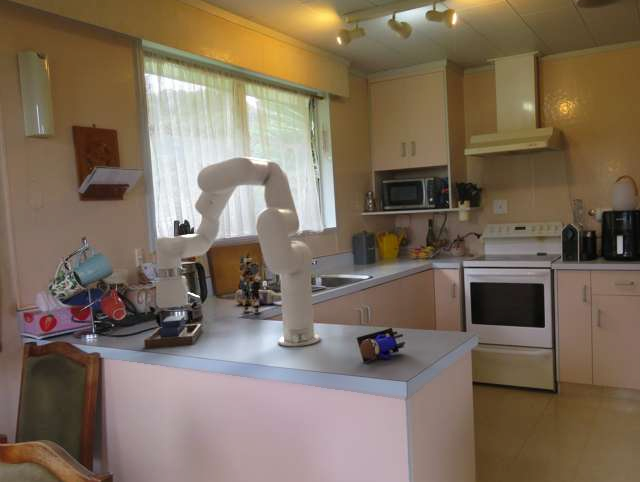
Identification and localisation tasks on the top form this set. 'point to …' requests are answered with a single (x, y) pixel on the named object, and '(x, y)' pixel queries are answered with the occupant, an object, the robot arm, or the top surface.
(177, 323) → the navy stepped block
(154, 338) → the tray
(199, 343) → the top surface
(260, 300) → the decorative bottle
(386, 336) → the character figurine
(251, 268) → the toy
